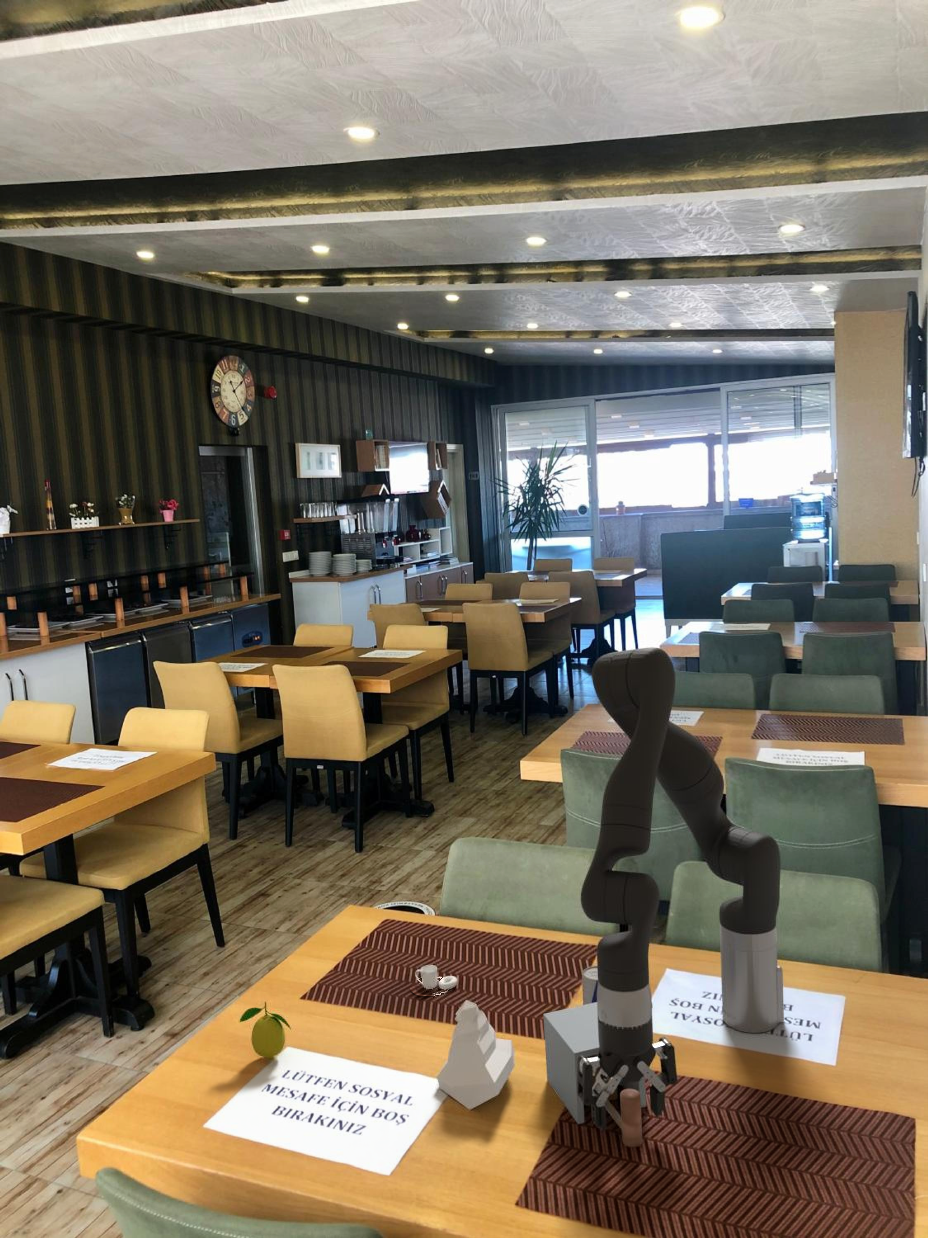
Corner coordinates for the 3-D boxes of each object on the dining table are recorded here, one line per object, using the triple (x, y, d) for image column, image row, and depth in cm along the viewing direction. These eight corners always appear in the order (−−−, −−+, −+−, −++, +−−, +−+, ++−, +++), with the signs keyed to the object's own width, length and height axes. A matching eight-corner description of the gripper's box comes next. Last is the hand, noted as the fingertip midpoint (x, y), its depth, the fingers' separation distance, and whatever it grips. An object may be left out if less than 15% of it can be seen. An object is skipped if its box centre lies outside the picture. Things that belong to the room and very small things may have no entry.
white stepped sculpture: (428, 1119, 153) (403, 1027, 154) (464, 1072, 167) (441, 988, 168) (502, 1112, 148) (476, 1016, 149) (533, 1064, 162) (509, 978, 163)
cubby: (611, 1064, 162) (608, 999, 160) (646, 1106, 150) (643, 1037, 149) (547, 1080, 158) (543, 1014, 157) (578, 1124, 147) (574, 1053, 146)
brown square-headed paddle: (603, 1080, 157) (601, 1038, 157) (653, 1142, 142) (651, 1096, 141) (573, 1088, 156) (571, 1045, 155) (620, 1151, 140) (618, 1104, 140)
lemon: (242, 1060, 170) (237, 1004, 169) (271, 1045, 174) (266, 990, 173) (266, 1074, 165) (261, 1016, 164) (295, 1058, 169) (290, 1001, 168)
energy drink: (616, 1050, 166) (613, 981, 164) (583, 1049, 167) (580, 980, 165) (618, 1033, 171) (615, 965, 169) (586, 1031, 172) (582, 964, 170)
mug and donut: (463, 985, 192) (461, 964, 191) (439, 1004, 185) (438, 983, 185) (425, 975, 196) (423, 955, 196) (401, 994, 190) (399, 973, 189)
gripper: (658, 989, 146) (661, 1094, 148) (566, 1008, 142) (571, 1116, 144) (683, 1013, 139) (687, 1124, 141) (588, 1035, 135) (593, 1148, 137)
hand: (628, 1120), depth 142 cm, fingers open, 8 cm apart
